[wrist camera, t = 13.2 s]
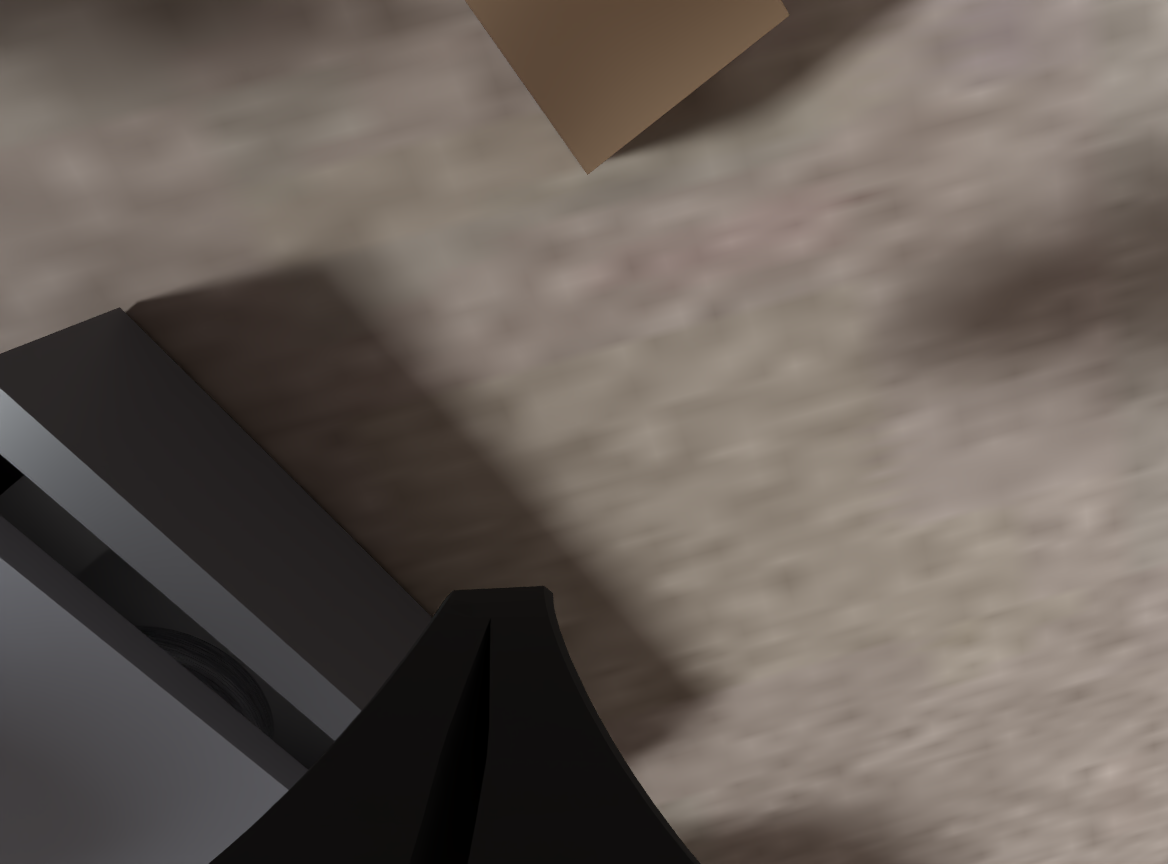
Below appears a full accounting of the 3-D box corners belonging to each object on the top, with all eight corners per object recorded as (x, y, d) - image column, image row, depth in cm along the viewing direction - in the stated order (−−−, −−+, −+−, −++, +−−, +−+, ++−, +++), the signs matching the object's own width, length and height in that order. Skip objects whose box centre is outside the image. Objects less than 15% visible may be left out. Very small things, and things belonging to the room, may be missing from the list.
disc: (-6, 697, 18) (-64, 754, 16) (155, 586, 17) (111, 635, 15) (164, 830, 20) (127, 894, 18) (319, 737, 19) (296, 795, 17)
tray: (-198, 587, 19) (-409, 713, 15) (129, 299, 16) (-16, 353, 12) (254, 912, 24) (190, 1074, 20) (557, 728, 21) (556, 869, 17)
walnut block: (460, -7, 14) (431, -48, 11) (625, -154, 14) (646, -244, 10) (582, 166, 16) (587, 174, 12) (739, 41, 15) (789, 15, 12)
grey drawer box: (-242, 618, 19) (-518, 783, 14) (87, 324, 17) (-110, 403, 12) (218, 936, 24) (131, 1138, 19) (526, 749, 22) (516, 928, 17)
